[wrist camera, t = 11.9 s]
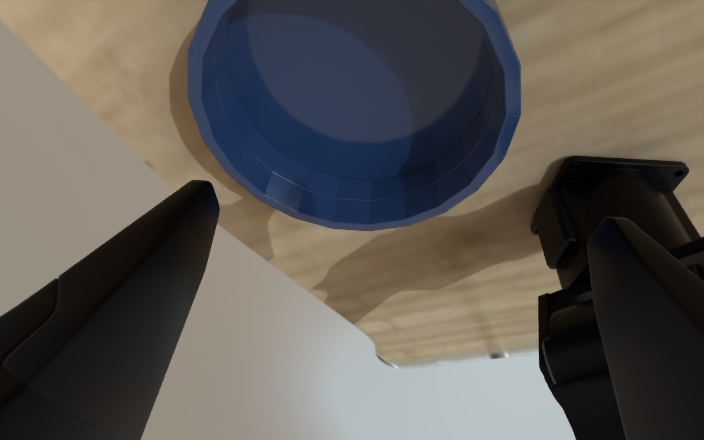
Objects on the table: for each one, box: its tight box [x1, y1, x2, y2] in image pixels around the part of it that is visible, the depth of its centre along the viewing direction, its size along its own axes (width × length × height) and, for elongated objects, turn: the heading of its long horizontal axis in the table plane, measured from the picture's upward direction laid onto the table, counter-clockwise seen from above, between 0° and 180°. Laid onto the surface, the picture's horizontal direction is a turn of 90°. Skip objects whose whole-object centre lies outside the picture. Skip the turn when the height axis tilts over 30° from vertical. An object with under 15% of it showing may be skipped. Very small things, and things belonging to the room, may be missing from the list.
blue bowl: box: [188, 0, 521, 231], centre depth 19 cm, size 14×14×4 cm
